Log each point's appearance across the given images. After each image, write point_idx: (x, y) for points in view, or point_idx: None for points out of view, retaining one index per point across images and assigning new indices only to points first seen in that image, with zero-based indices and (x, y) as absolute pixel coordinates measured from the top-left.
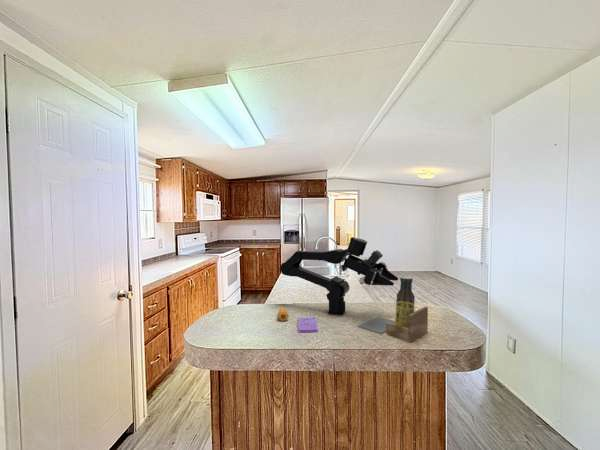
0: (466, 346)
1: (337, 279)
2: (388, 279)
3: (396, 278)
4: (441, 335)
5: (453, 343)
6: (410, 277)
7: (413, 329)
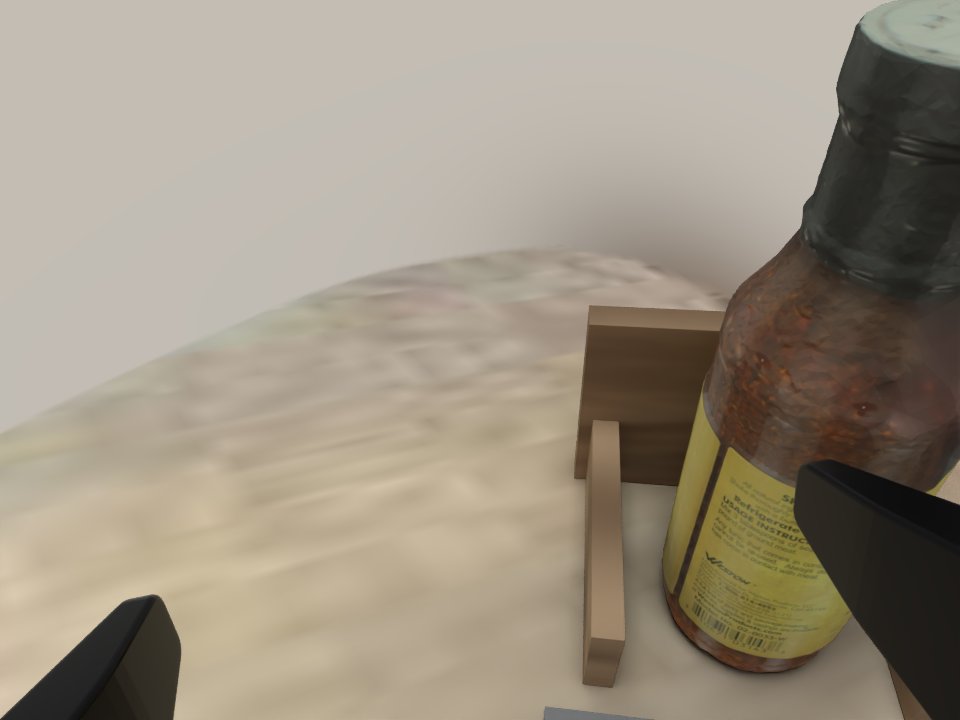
0: (624, 275)
1: None
2: (952, 537)
3: (152, 645)
4: (564, 383)
5: None
6: (900, 10)
7: None
